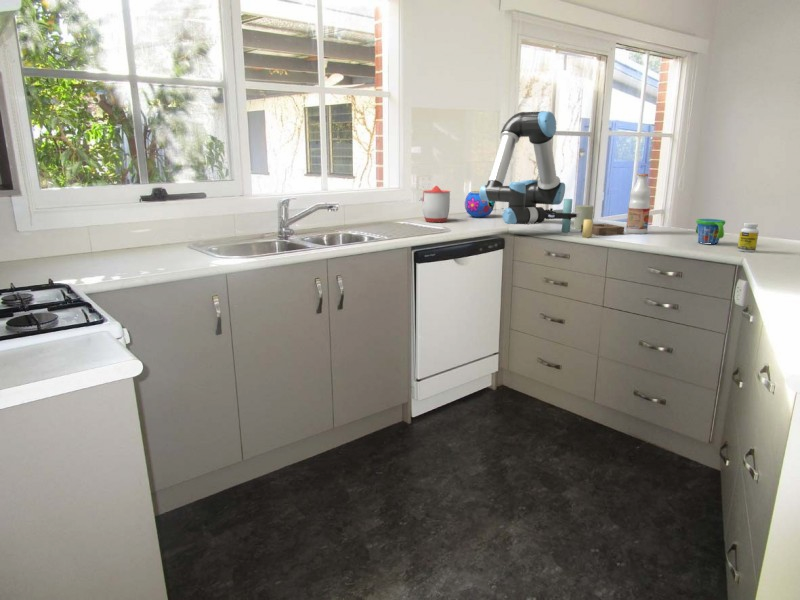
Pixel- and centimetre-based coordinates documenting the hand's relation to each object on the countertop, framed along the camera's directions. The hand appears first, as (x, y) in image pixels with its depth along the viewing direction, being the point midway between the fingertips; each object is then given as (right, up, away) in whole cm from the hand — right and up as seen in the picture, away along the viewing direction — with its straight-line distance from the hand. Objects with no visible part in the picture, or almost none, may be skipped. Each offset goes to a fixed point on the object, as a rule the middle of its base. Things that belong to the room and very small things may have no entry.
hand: (572, 213), depth 273 cm
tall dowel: (-3, -9, +1) cm, 10 cm away
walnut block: (+14, -10, -2) cm, 17 cm away
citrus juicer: (-65, +2, +43) cm, 78 cm away
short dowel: (+2, -13, -14) cm, 19 cm away
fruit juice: (+30, -10, -1) cm, 32 cm away
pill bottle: (+54, -23, -50) cm, 77 cm away
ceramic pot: (-37, +7, +63) cm, 73 cm away
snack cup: (+48, -18, -33) cm, 61 cm away
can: (+9, -6, +14) cm, 18 cm away
